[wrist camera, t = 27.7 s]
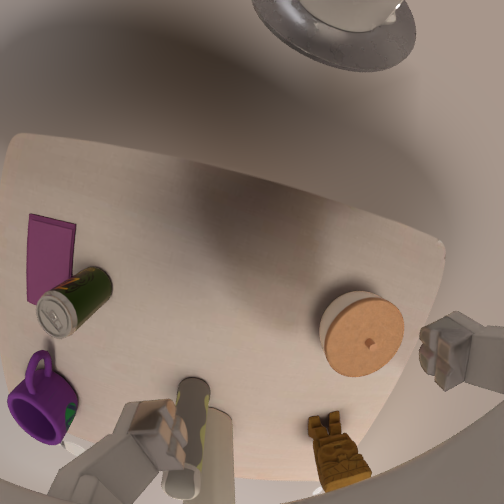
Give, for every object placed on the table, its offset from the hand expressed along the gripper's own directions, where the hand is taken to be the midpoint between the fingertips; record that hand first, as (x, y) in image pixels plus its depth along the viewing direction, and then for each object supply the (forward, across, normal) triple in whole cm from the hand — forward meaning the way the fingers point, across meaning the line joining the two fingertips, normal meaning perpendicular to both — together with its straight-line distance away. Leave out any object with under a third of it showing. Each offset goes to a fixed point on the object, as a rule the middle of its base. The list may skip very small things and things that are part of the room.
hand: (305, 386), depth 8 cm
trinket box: (+29, -11, +14) cm, 34 cm away
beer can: (+29, +22, +1) cm, 37 cm away
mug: (+29, +39, +15) cm, 51 cm away
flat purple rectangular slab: (+29, +29, -4) cm, 42 cm away
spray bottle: (+29, +14, +20) cm, 38 cm away
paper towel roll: (+29, +13, +27) cm, 42 cm away
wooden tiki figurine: (+29, -5, +35) cm, 46 cm away
